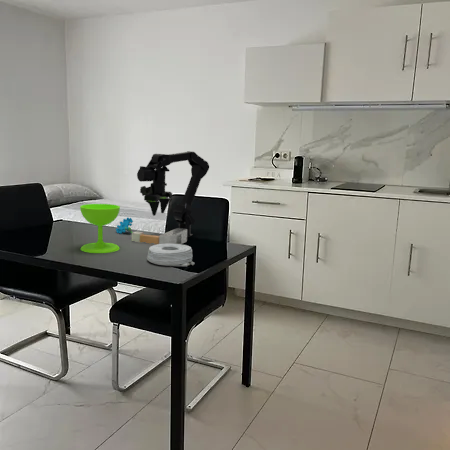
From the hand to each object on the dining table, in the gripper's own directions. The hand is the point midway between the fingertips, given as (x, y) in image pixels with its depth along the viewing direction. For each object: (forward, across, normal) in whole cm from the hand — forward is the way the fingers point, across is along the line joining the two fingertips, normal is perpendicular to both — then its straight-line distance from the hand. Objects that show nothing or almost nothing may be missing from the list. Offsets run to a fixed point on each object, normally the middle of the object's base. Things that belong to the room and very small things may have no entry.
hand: (158, 214), depth 213 cm
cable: (+12, +35, +21) cm, 43 cm away
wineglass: (+12, +29, -13) cm, 34 cm away
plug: (+12, +8, -2) cm, 15 cm away
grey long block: (+12, +8, +12) cm, 18 cm away
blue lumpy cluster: (+12, -6, -21) cm, 25 cm away
